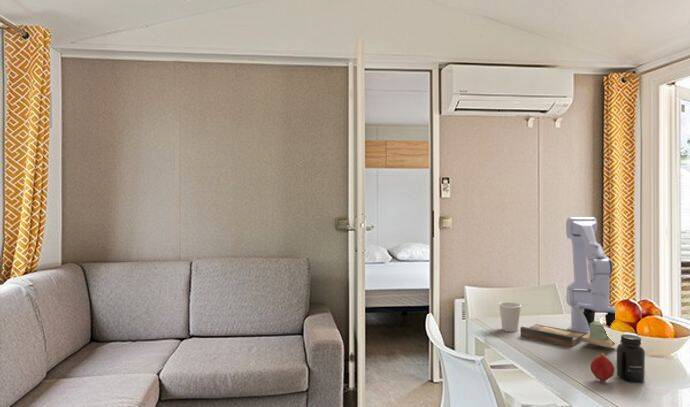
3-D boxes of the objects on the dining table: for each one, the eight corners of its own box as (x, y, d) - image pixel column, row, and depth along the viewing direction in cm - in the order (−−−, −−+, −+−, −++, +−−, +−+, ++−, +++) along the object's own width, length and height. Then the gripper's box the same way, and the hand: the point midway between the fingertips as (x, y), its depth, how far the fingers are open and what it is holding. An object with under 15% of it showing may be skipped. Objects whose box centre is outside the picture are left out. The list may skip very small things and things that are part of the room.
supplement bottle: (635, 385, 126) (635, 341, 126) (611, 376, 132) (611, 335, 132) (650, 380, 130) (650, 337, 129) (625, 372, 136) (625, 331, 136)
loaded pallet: (590, 336, 165) (590, 317, 165) (618, 341, 158) (618, 322, 158) (581, 341, 159) (581, 322, 158) (610, 347, 152) (610, 327, 152)
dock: (536, 329, 181) (536, 320, 181) (585, 338, 168) (585, 329, 168) (520, 336, 171) (520, 327, 171) (571, 347, 159) (571, 337, 159)
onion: (586, 378, 132) (585, 350, 132) (605, 377, 132) (605, 349, 132) (599, 386, 126) (598, 357, 126) (618, 385, 126) (618, 356, 126)
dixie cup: (498, 331, 178) (497, 305, 178) (499, 326, 186) (499, 301, 186) (521, 333, 175) (521, 307, 175) (521, 328, 183) (521, 303, 183)
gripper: (573, 292, 161) (573, 331, 161) (620, 298, 150) (620, 339, 151) (580, 289, 166) (580, 327, 166) (626, 295, 155) (626, 335, 155)
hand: (600, 332), depth 158 cm, fingers closed on loaded pallet, 4 cm apart
